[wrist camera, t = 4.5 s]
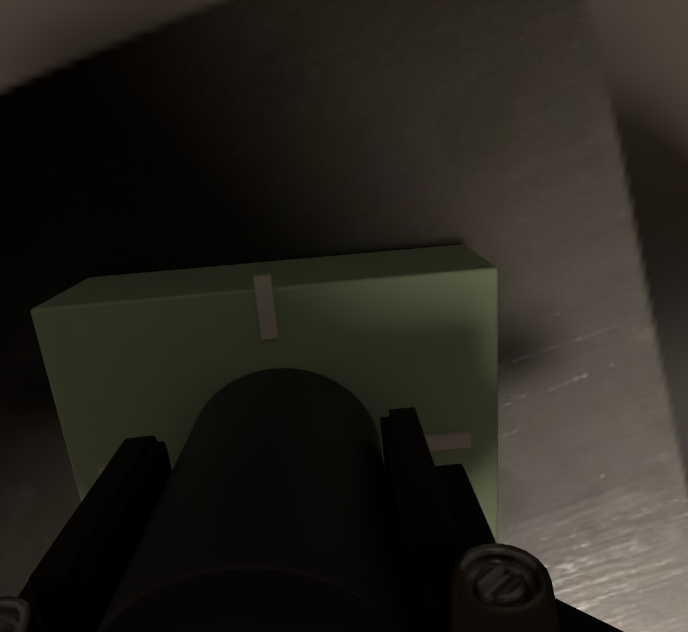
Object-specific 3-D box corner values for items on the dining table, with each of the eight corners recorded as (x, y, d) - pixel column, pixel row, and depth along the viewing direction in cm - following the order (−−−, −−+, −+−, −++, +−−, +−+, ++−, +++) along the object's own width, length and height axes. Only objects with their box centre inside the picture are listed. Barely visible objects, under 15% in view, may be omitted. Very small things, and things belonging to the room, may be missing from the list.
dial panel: (147, 538, 17) (107, 623, 14) (84, 265, 14) (20, 297, 11) (469, 508, 17) (500, 587, 14) (464, 231, 14) (501, 254, 11)
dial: (207, 543, 13) (110, 869, 7) (173, 378, 12) (21, 609, 6) (387, 524, 13) (437, 835, 7) (371, 357, 12) (418, 567, 6)
